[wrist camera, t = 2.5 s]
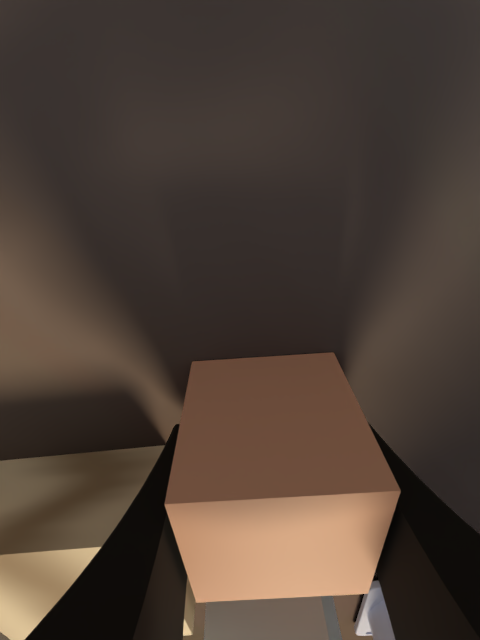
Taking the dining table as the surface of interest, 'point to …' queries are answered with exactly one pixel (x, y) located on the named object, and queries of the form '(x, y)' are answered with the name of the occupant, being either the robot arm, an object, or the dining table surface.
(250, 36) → the dining table surface
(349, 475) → the terracotta cube
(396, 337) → the dining table surface
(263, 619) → the off-white cube
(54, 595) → the maple block
